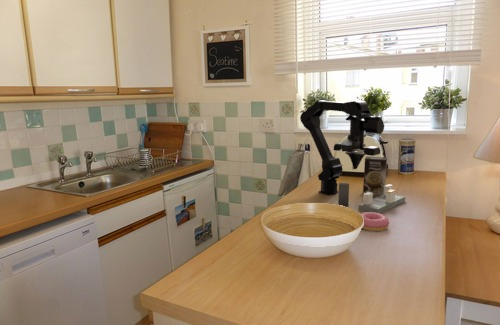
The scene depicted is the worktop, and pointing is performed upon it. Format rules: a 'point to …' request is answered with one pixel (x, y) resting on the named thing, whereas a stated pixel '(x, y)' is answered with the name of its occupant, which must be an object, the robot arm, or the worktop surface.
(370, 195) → the paddle left
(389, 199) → the block
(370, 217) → the doughnut
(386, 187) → the paddle right
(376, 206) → the breaker panel
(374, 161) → the coffee box
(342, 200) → the dark grey tall block
